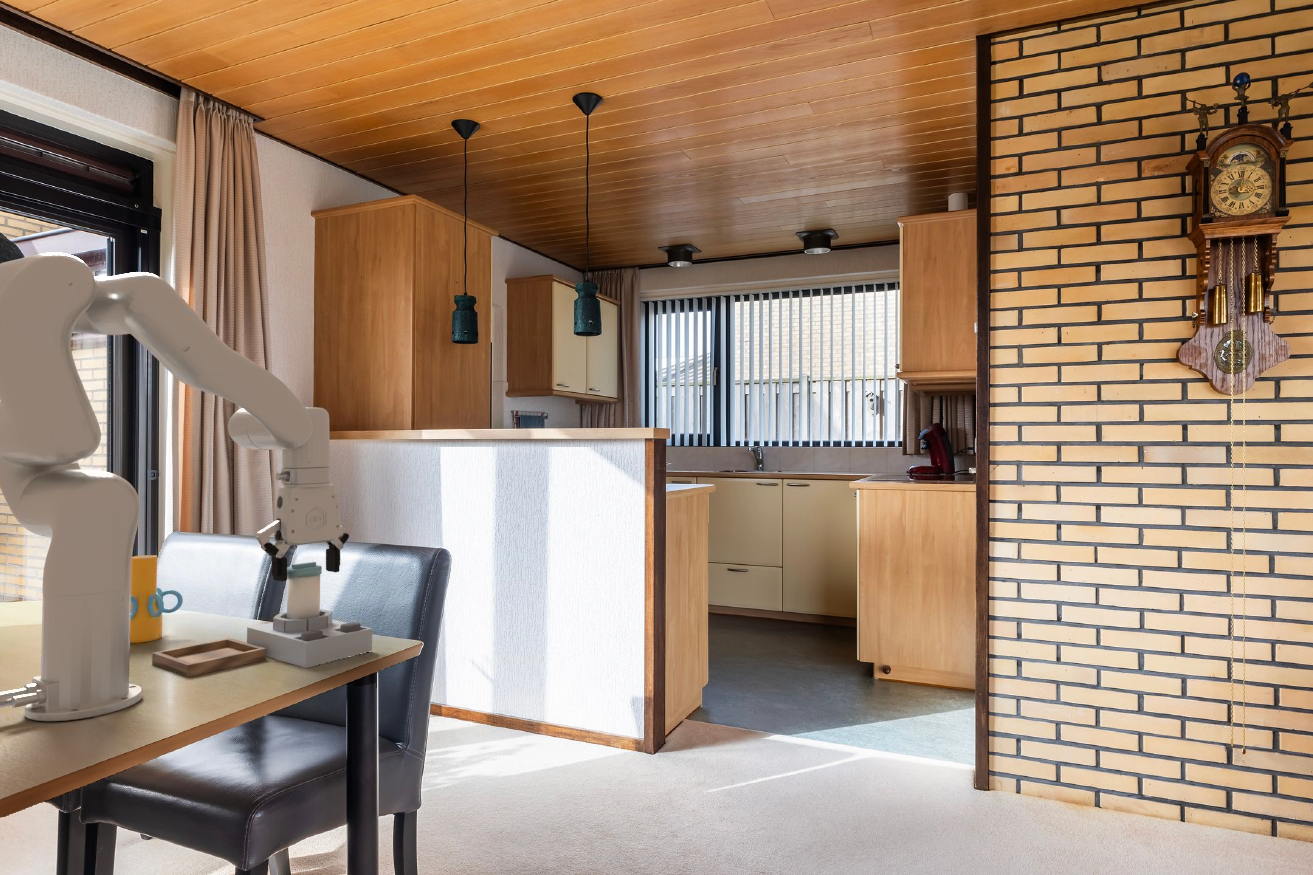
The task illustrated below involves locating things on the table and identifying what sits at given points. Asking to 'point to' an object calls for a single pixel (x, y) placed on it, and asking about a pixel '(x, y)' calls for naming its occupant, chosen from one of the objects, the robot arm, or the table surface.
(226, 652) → the tray
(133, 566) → the cylinder
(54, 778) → the table surface
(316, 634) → the plunger left
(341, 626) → the plunger right
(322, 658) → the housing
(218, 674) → the table surface
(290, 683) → the table surface
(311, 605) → the cylinder
